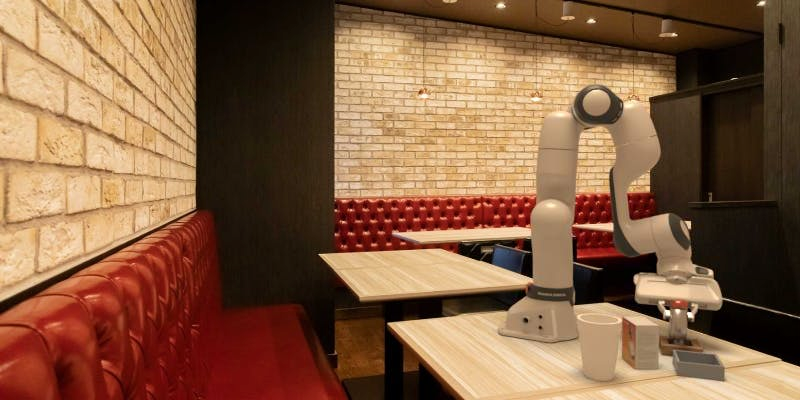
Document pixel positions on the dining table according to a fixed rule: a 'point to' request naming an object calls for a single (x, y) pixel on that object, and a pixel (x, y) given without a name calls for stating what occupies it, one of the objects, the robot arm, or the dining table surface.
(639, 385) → the dining table surface
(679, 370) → the tray
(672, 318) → the red-lidded jar
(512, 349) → the dining table surface
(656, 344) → the small box
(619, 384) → the dining table surface
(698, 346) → the wooden square frame
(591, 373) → the foam cup
